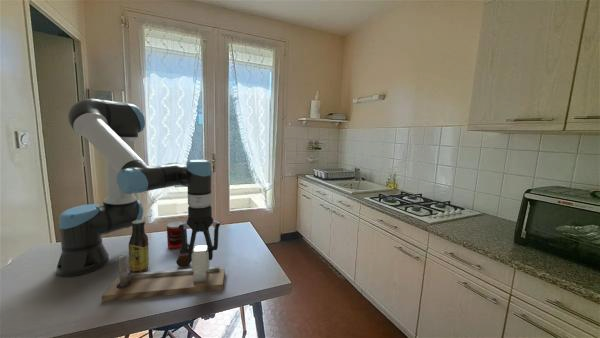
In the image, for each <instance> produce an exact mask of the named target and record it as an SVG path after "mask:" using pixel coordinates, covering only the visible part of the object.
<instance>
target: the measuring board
mask: <svg viewBox="0 0 600 338" xmlns="http://www.w3.org/2000/svg"><path fill="white" fill-rule="evenodd" d="M118 269H119V270H118V271H119V277H117V278H116V279H115V280H114V281H113V283H111V285H110V286H109V287H108V288H106V290H105V291H104V292H103V294H102V295H101V302H112V301H121V300H122V301H123V300H124V301H125V300H133V299H143V298H152V297H153V298H154V297H164V296H175V295H183V294H193V293H195V294H196V293H203V292H204V293H205V292H211V291H212V292H213V291H222V290H223V289H224V282H225V275H226V268H220V266H210V267H209V270H208V275H207V279H206V282H197V283H193V277H194V271H192V268H183V269H172V270H171V269H170V270H160V271H158V270H157V271H145V272H143V273H130V274H128V264H127V256H126V255H125V254H122V255H120V256H118Z"/></svg>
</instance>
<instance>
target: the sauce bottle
mask: <svg viewBox="0 0 600 338" xmlns="http://www.w3.org/2000/svg"><path fill="white" fill-rule="evenodd" d="M145 225H146V222H145V220H144V219H141V220H136V221H133V222H132V226H131V227H132V228H131V229H132V231H131V232H132V233H131V235H130V239H129V242H128V269H129V273H130V274H131V273H143V272H147V270H148V269H149V261H150V260H149V259H150V258H149V253H150V252H149V237H148V235H147V234H146V233H145Z"/></svg>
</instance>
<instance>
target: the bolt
mask: <svg viewBox="0 0 600 338" xmlns="http://www.w3.org/2000/svg"><path fill="white" fill-rule="evenodd" d="M187 244H188V247H189V245H190V243H187ZM175 263H176V265H177V266H178V267H179V268H187V267H189V266H190V264H192V262H189V259H188V253H187V252H183V251H182V248H181V249H179V256H178V257H177V259H176V261H175Z"/></svg>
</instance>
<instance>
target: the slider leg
mask: <svg viewBox="0 0 600 338" xmlns="http://www.w3.org/2000/svg"><path fill="white" fill-rule="evenodd" d="M207 249H208V248H207V244H206V245H195V246H194V248H193V250H194V251H193V257H194V277H193V283H197V282H206V279H207V275H208V270H206V252H207Z"/></svg>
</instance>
